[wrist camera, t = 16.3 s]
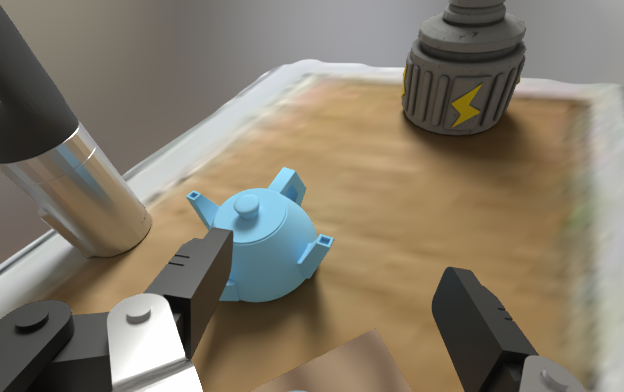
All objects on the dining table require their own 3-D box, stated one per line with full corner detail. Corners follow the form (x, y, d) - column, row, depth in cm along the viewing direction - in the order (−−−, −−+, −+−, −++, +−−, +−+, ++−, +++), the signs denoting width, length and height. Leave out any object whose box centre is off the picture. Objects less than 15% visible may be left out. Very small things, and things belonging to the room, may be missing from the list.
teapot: (343, 291, 35) (338, 235, 28) (216, 335, 33) (174, 288, 26) (306, 203, 46) (296, 146, 38) (209, 233, 44) (177, 178, 36)
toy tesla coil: (398, 90, 67) (416, -95, 46) (490, 87, 64) (556, -115, 42) (402, 139, 54) (429, -86, 33) (517, 139, 51) (631, -113, 30)
